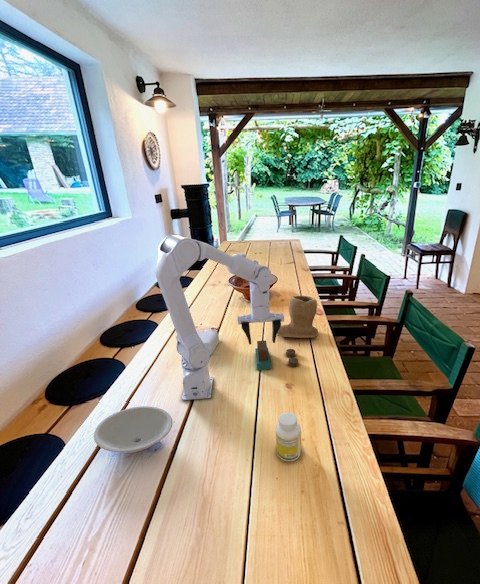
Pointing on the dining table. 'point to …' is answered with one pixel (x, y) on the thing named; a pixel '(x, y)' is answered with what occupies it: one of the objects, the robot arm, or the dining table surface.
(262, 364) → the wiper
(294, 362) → the crumb
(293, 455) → the supplement bottle
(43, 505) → the dining table surface
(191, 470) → the dining table surface
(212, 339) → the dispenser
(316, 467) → the dining table surface
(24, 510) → the dining table surface
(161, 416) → the dish
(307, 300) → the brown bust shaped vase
